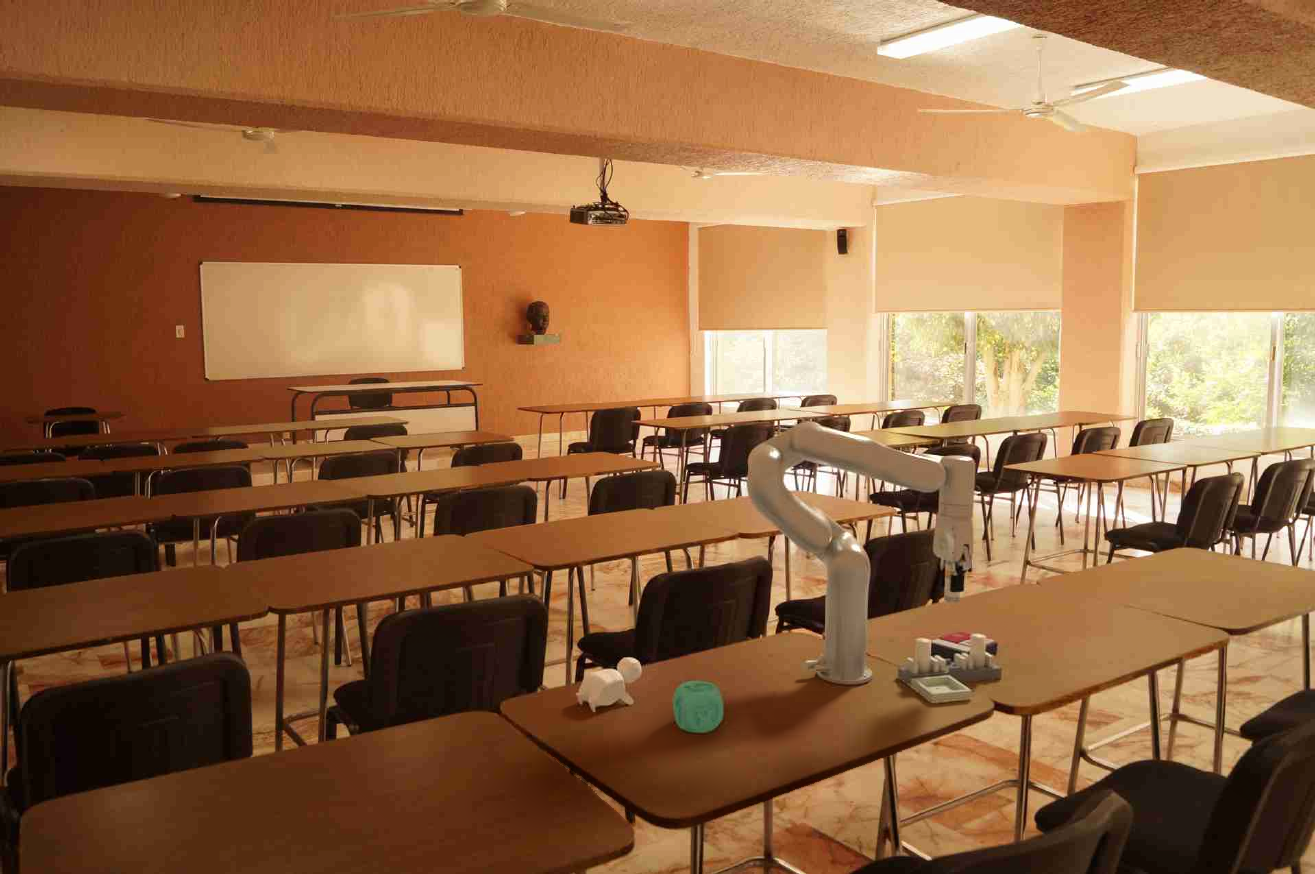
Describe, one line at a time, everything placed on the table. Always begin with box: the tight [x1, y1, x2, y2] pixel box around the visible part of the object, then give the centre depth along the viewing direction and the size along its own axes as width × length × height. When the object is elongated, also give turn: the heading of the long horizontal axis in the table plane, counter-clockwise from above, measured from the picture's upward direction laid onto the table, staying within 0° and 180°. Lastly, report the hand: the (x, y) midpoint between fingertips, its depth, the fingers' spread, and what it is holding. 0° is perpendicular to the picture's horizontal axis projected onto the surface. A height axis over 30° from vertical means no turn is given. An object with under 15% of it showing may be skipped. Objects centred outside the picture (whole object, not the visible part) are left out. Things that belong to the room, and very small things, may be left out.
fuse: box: [943, 559, 962, 603], centre depth 223 cm, size 3×3×10 cm
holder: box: [897, 633, 1003, 685], centre depth 225 cm, size 23×6×10 cm, turn 104°
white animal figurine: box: [575, 656, 643, 713], centre depth 211 cm, size 9×8×15 cm
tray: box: [910, 675, 973, 702], centre depth 216 cm, size 9×9×2 cm
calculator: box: [931, 631, 999, 662], centre depth 242 cm, size 11×4×15 cm
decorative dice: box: [672, 680, 724, 734], centre depth 199 cm, size 8×8×8 cm
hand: (952, 588), depth 223 cm, fingers closed on fuse, 3 cm apart
